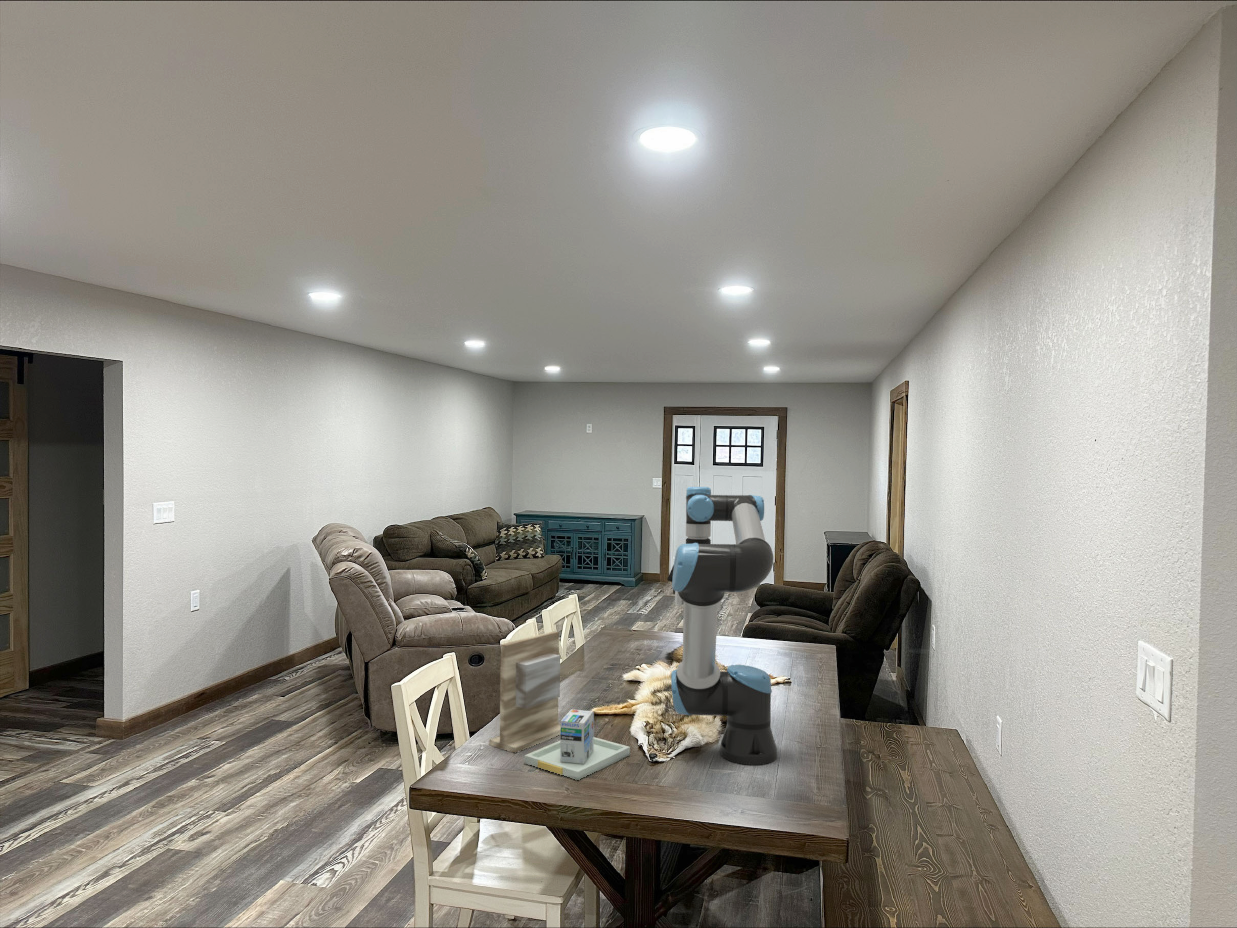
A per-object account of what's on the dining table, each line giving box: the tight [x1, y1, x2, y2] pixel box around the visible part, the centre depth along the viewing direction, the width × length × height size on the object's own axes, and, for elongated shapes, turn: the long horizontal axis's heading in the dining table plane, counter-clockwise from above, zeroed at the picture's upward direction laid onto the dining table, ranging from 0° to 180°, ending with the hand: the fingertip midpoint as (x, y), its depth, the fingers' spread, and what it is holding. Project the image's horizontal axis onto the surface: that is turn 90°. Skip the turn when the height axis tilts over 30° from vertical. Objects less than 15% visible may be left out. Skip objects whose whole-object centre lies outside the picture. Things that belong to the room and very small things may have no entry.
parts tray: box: [523, 736, 631, 781], centre depth 213 cm, size 18×22×2 cm
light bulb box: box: [559, 708, 595, 764], centre depth 213 cm, size 11×7×11 cm, turn 168°
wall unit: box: [488, 630, 561, 754], centre depth 229 cm, size 10×22×28 cm, turn 143°
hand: (697, 607), depth 244 cm, fingers open, 13 cm apart
